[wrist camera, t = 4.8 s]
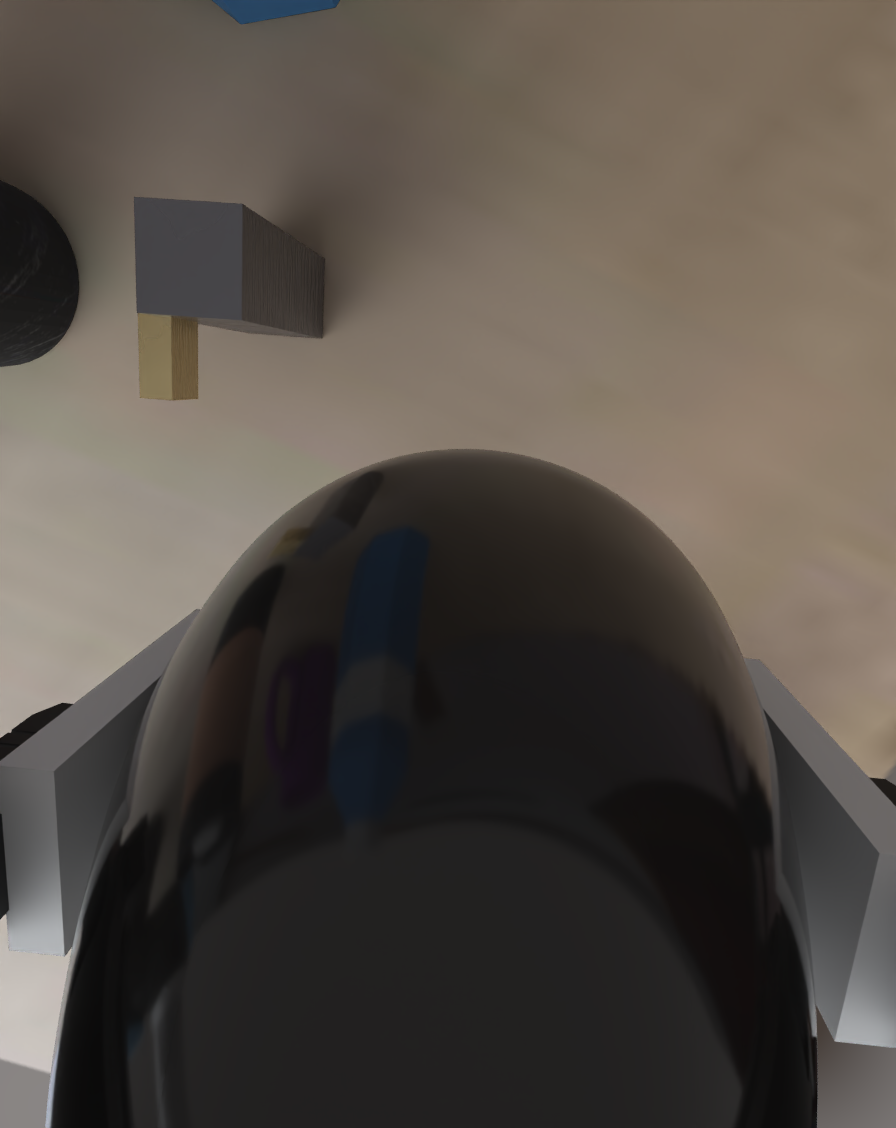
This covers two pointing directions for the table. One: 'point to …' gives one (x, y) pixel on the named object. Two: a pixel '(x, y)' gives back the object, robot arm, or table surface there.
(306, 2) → the water bottle
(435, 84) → the table surface
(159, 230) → the latch post
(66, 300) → the travel mug
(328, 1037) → the pump dispenser
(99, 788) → the robot arm
